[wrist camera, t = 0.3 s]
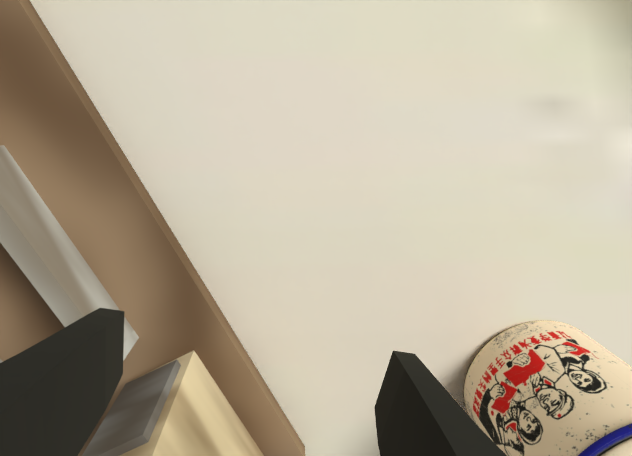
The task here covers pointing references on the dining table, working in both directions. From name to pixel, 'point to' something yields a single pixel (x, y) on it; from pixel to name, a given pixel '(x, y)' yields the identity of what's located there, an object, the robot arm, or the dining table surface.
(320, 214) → the dining table surface
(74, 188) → the post board
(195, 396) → the beige pillar with cap
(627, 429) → the teacup with lid
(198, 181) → the dining table surface
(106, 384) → the robot arm
